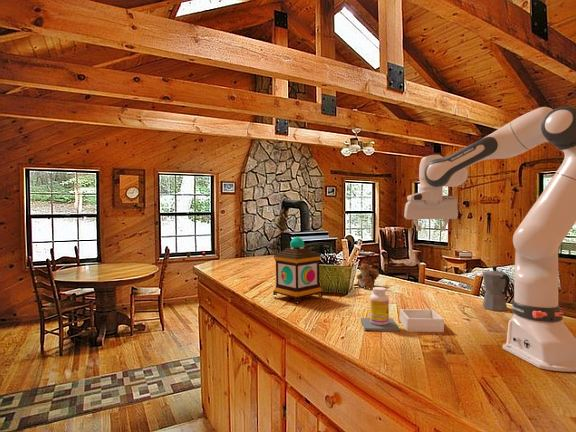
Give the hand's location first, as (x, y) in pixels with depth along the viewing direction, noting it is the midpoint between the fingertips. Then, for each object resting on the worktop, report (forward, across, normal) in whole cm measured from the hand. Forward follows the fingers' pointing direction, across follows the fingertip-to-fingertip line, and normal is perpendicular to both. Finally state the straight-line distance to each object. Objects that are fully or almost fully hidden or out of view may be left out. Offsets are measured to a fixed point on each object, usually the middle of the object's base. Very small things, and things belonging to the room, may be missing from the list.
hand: (430, 230), depth 146 cm
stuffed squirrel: (+34, +18, -53) cm, 66 cm away
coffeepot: (+34, -30, -10) cm, 47 cm away
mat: (+34, +23, +14) cm, 43 cm away
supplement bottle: (+33, +23, +14) cm, 43 cm away
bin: (+34, +8, +14) cm, 38 cm away
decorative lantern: (+34, +55, -27) cm, 70 cm away
